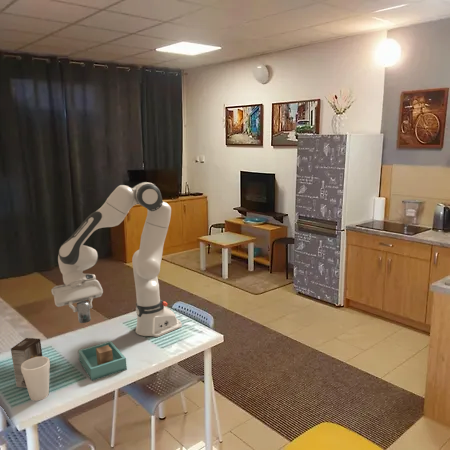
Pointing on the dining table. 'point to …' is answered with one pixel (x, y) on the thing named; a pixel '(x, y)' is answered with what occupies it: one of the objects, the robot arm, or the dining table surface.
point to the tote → (99, 371)
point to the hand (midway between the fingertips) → (83, 309)
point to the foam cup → (36, 377)
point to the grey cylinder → (83, 311)
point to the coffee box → (24, 357)
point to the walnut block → (104, 355)
